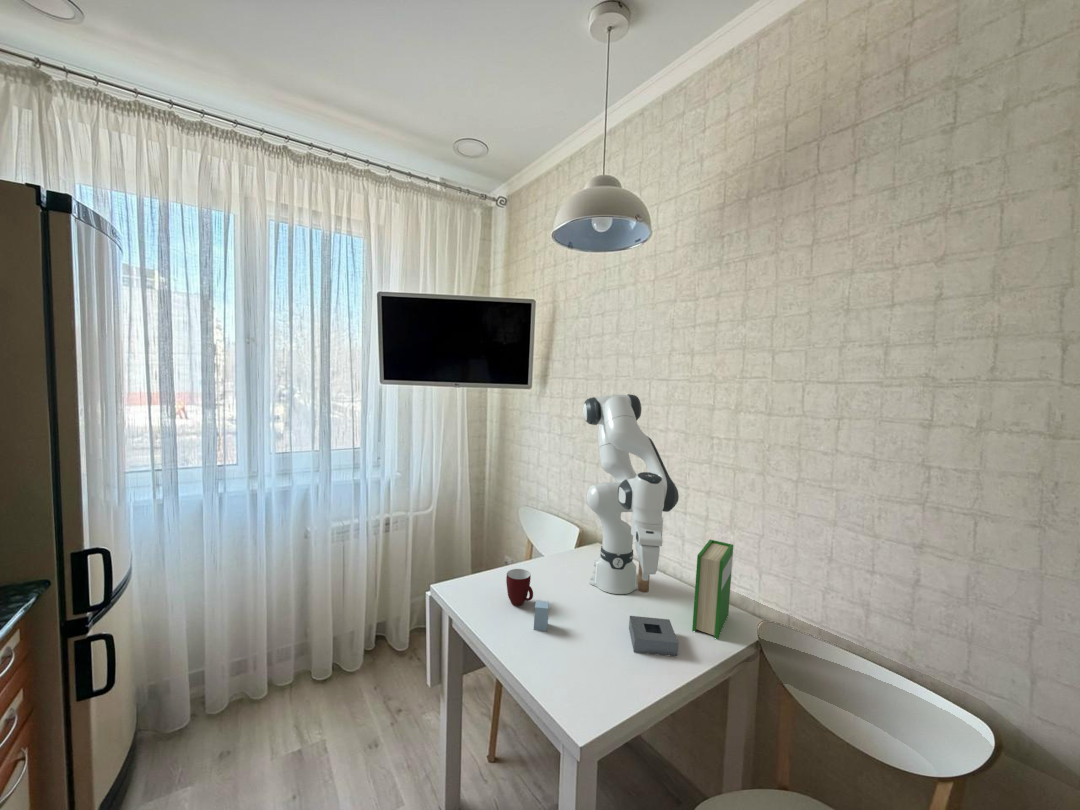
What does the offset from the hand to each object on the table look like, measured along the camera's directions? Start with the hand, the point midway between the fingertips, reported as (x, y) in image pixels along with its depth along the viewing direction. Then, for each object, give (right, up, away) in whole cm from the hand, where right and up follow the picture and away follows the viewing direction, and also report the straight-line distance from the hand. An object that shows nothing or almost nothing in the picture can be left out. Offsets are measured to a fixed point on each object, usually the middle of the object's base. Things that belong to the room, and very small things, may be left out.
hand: (643, 576), depth 125 cm
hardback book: (+25, -20, +13) cm, 34 cm away
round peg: (0, -4, 0) cm, 4 cm away
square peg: (-30, -18, +5) cm, 35 cm away
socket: (+3, -20, +1) cm, 20 cm away
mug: (-37, -17, +18) cm, 44 cm away
